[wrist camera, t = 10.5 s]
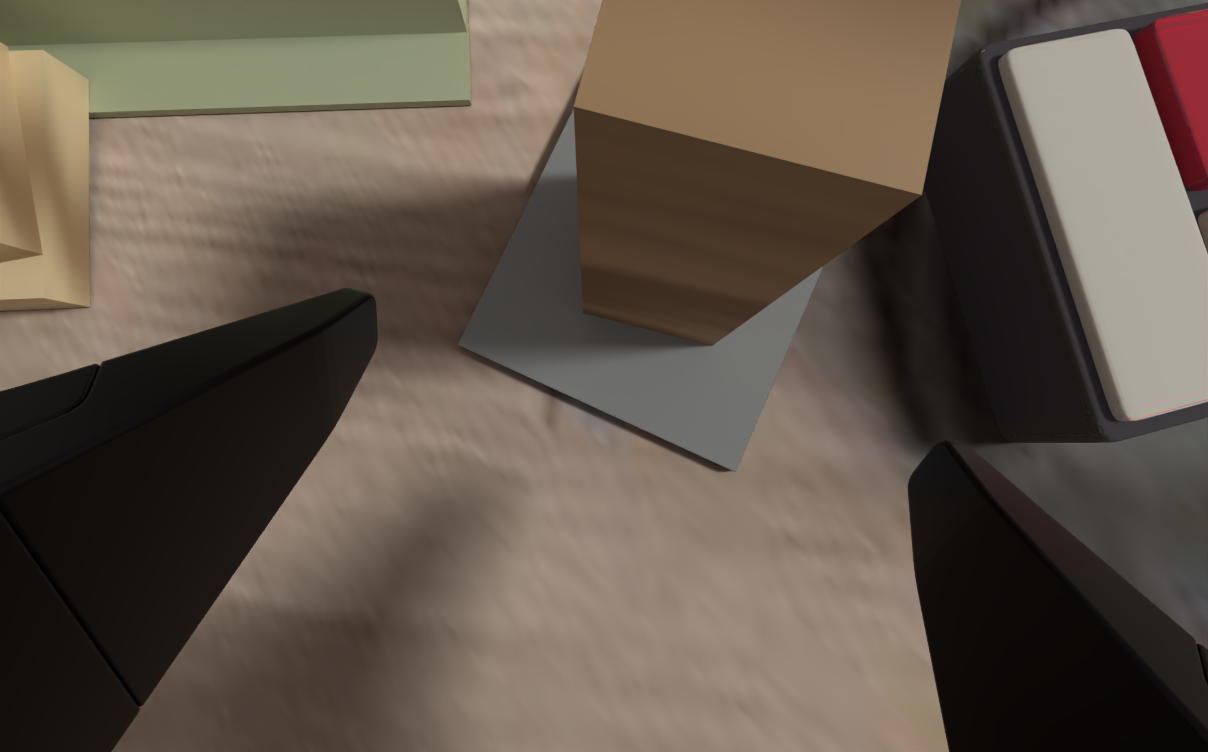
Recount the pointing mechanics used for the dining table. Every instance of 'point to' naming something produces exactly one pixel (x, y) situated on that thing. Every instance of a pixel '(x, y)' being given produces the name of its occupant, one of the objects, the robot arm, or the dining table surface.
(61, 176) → the offcut lower
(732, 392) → the felt pad
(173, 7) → the green flanged rail
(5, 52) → the offcut upper
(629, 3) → the brown wooden block
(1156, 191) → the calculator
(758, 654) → the dining table surface
